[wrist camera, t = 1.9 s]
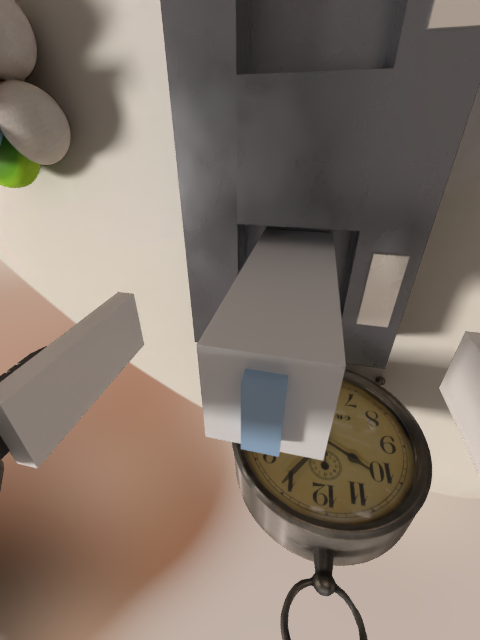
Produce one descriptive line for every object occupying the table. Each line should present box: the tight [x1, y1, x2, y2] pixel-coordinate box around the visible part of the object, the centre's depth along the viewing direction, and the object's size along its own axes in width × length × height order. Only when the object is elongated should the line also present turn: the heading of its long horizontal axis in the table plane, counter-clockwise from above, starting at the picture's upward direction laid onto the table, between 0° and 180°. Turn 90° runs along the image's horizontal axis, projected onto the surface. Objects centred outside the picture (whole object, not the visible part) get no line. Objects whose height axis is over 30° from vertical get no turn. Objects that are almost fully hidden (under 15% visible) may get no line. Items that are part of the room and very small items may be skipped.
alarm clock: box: [232, 370, 432, 640], centre depth 18 cm, size 11×5×16 cm, turn 92°
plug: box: [197, 229, 346, 461], centre depth 14 cm, size 4×4×13 cm
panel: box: [160, 0, 480, 369], centre depth 15 cm, size 22×12×4 cm, turn 0°
